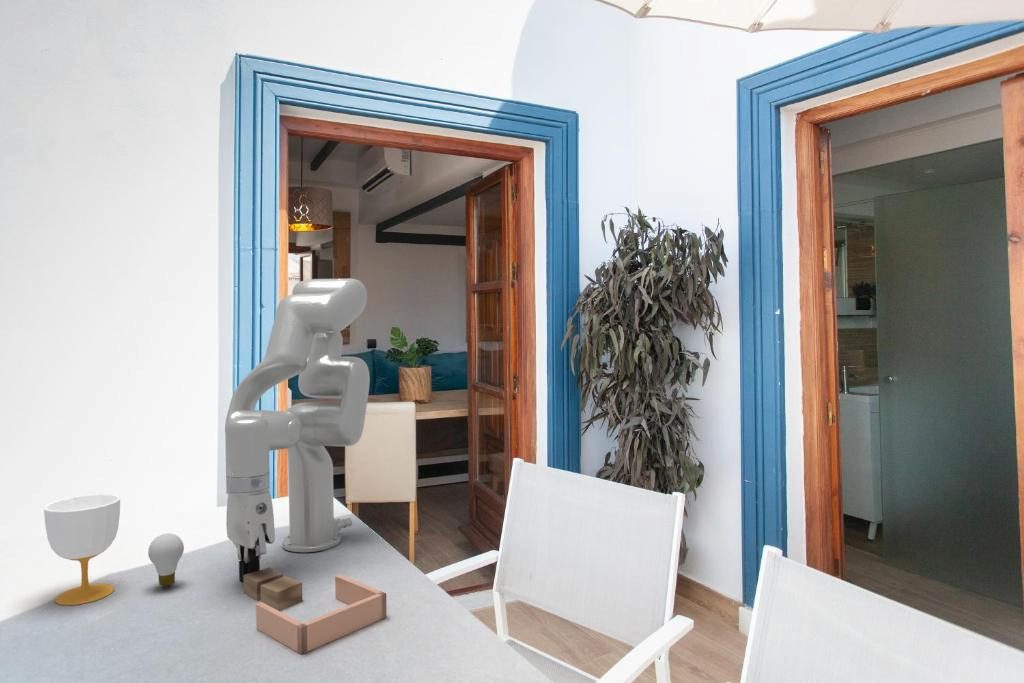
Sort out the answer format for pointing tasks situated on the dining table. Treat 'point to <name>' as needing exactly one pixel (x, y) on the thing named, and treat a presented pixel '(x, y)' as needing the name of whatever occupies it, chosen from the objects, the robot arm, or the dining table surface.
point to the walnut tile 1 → (259, 581)
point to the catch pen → (325, 617)
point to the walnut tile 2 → (281, 593)
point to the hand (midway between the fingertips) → (249, 580)
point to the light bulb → (166, 557)
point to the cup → (82, 538)
